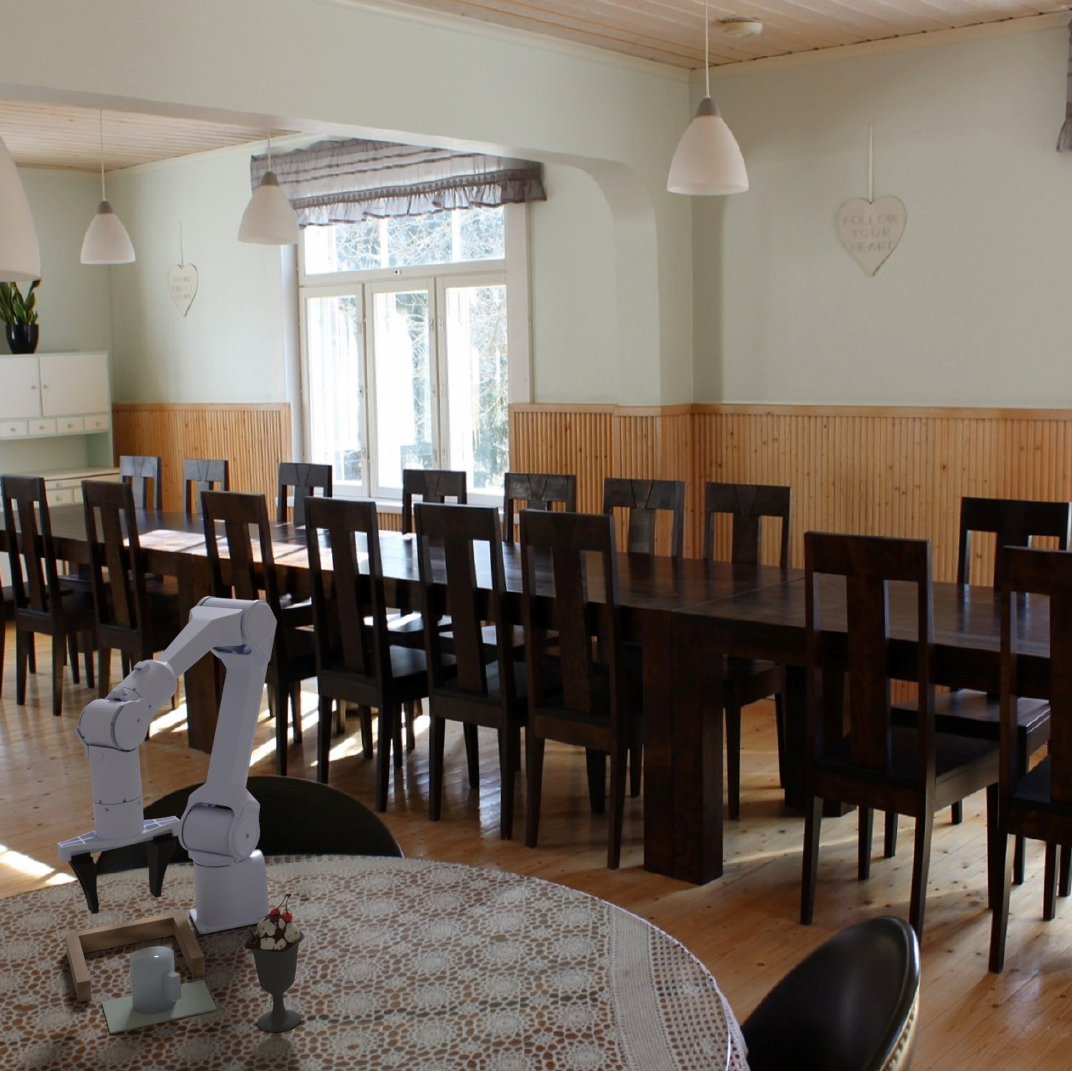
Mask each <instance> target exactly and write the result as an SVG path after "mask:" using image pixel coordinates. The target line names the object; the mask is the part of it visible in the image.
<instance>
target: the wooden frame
mask: <svg viewBox="0 0 1072 1071" xmlns="http://www.w3.org/2000/svg"><path fill="white" fill-rule="evenodd" d="M172 935H173V936H174V938H175V937H176V938H175V940H176V942H177V944H178V946H179V948H180V951H181V953H182V956H183V958H184V959H185V963H186V965H187V967H188V970H189V972H190V973H191V976H192V978H194V979H195V978H198V977H199V978H200V977H202V976H203V977H205V976H206V964H205V962H206V961H205V955H204V953H203V951H202V948H201V946H200V944H199V942H198V940H197V938H196V935H195V934H194V931H193V929H192V928H191V925H190V924H189V921H188V918H187V917H186V915H185V912H184V911H183V910H181V911H175V912H174V911H173V912H170V913H165V914H160V915H156V916H149V917H144V918H138V919H133V920H128V921H124V922H123V921H122V922H117V923H113V924H108V925H103V926H98V927H93V928H88V929H83V930H76V931H71V932H67V933H64V936H65V937H64V938H65V952H66V956H67V960H68V964H69V965H68V966H69V968H70V972H71V977H72V981H73V986H74V989H75V993H76V998H77V1001H78V1003H83V1002H87V1001H92V1000H93V999H92V987H91V986H92V985H91V978H90V975H89V970H88V966H87V963H86V959H85V955H84V954H87V953H93V952H97V951H102V950H107V949H108V950H109V949H112V948H117V947H122V946H128V945H131V944H137V943H141V942H146V941H151V940H156V938H158V939H162V938H161V937H163V938H167V937H172Z"/></svg>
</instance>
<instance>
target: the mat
mask: <svg viewBox="0 0 1072 1071" xmlns="http://www.w3.org/2000/svg"><path fill="white" fill-rule="evenodd" d="M181 996H182V998H181V999H179V1000H178V1001H176V1004H175V1005H174V1006H173V1007H172V1008H170V1009H168V1010H166V1011H163V1012H160V1013H156V1014H141V1013H138V1012H136V1011H134V1009H133V1003H132V994H131V995H127V996H122V997H118V998H112V999H108V1000H103V1001H101V1005H102V1008H103V1013H104V1016H105V1020H106V1023H107V1026H108V1030H109V1034H110V1035H112V1034H117V1033H121V1032H126V1031H131V1030H134V1029H135V1030H136V1029H140V1028H143V1027H147V1026H148V1027H149V1026H151V1025H156V1024H162V1023H166V1022H169V1021H176V1020H179V1019H183V1018H188V1017H192V1016H197V1015H200V1014H206V1013H209V1012H213V1011H217V1009H218V1008H217V1006H216V1004H215V1001H214V999H213V997H212V995H211V992H210V991H209V989H208V986H207V984H206V982H205V980H204V979H201V980H195V981H191V982H187V983H186V982H185V983H182V984H181Z"/></svg>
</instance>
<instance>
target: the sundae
mask: <svg viewBox="0 0 1072 1071" xmlns="http://www.w3.org/2000/svg"><path fill="white" fill-rule="evenodd" d="M290 897H292V893H285V896H284V898H283V900H282V901H281V903H280V904H279V905H278V906H277V907H274V908H272V909H271V910H270V911H269V912H270V913H269V914H268V915H266V916H264V917H263V918H262V919H261V921H260V922H259V923H257V927H256V931H253V929H252V927H250V926H247V931H248V933H249V934H248V936H246V939H245V943H244V949H245V950H249V951H251V952H252V955H253V959H254V965H255V969H256V976H257V979H258V984H259V986H260V988H261V989H263V991H264V992H266V993H267V994H270V995H271V996H272V1010H271V1011H268V1012H266V1013H265V1014H262V1015H261V1017H260V1018H259V1019H258V1021H257V1024H256V1025H257V1026H258V1028H259V1029H261V1030H263V1032H267V1033H281V1032H286V1031H289V1030H292V1029H293V1028H295V1027H297V1026H298V1025H299V1024H300V1022H301V1019H302V1016H301V1015H300V1013H299V1012H297V1011H295V1010H293V1009H291V1010H290V1009H286V1007H285V1003H284V994H285V992H287V991H288V990H289V989H291V987H292V985H293V984H294V982H295V981H296V980H295V979H296V975H297V965H298V954H299V947H300V946H299V945H300V944H301V942H303V941H304V939H305V934H304V932H302V931H301V930H300V929H299V927H298V926H297V923H295V922H294V921H292V919H293V914H292V913H291V912H289V910H288V900H289V898H290ZM286 898H287V899H286ZM285 900H286V901H285ZM284 902H285V912H283V913H282V914H281V910H280V909H279V908H281V906H282V905H283V904H284Z"/></svg>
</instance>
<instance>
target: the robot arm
mask: <svg viewBox="0 0 1072 1071" xmlns="http://www.w3.org/2000/svg"><path fill="white" fill-rule="evenodd" d="M188 616H189V617H188V623H187V624H186V625H185V626H184V628H183V629H182V630H181V631H180V632H179V633H178V635H177V636H176V637H175V639H173V641H172V642H171V643H170V644H169V645H168V647H167V648H166V649H164V651H163V652H162V653H161V655H160V656H159V657H158V658H157V659H156V660H155V659H146V660H143V661H138V662H137V663H136V664H135V665H134V666H133V671H131V672H130V673H129V674H128V675H127V676H126V677H125V678H124V679H123V680H122V681H121V682H120V683H119V684H118V685H117V686H115V687H113V689H111V691H110V693H108V695H107V696H106V697H104V698H98V699H95V700H92V701H91V702H90V703H89V704H87V705H86V706H85V707H84V708H83V709H82V711H81V712H80V715H79V718H78V724H77V726H76V727H75V733H76V737H77V739H78V740H79V742H80V743H81V744H82V745H83V747H84V753H85V757H86V758H87V760H88V761H89V768H90V782H91V793H92V808H93V809H92V810H93V821H94V830H90V831H89V832H86V833H84V834H81V835H79V836H76V837H73V838H70V839H66V840H63V841H60V842H56V848H57V850H56V851H57V858H58V860H59V861H60V862H61V863H62V864H63V863H68V864H69V866H70V868H71V869H72V871H73V872H74V875H75V876H76V878H77V880H78V882H79V884H80V887H81V889H82V891H83V894H84V897H85V900H86V905H87V909H88V910H89V912H90V913H91V914H93V915H95V914H99V912H100V903H99V896H98V888H97V887H98V884H97V883H98V882H97V881H98V864H96V863H95V861H94V857H93V856H92V855H93V854H96V853H102V852H106V851H111V850H113V849H119V848H123V847H126V846H130V845H134V844H135V845H136V844H139V843H144V844H145V851H146V858H147V863H148V864H147V866H148V885H149V886H148V887H149V892H150V894H151V895H152V896H153V897H154V898H161V896H162V891H163V890H162V888H163V884H164V879H165V876H166V873H167V869H168V866H169V863H170V861H171V858H172V857H173V854H174V853H175V851H176V847H177V843H176V840H175V839H174V838H173V837H177V836H178V840H179V844H180V846H181V847H182V848H183V849H184V850H186V851H187V852H188V858H189V859H191V860H193V861H192V862H193V875H194V896H195V908H191V909H190V910H189V915H190V917H191V919H192V921H193V923H194V926H195V927H196V930H197V931H198V934H200V935H205V934H210V933H216V932H219V931H220V932H221V931H226V930H230V929H231V930H232V929H235V928H240V927H246V926H251V925H255V924H256V925H257V924H258V923H259V922H260V921H261V919H262V918H263V917H264V916H266V915H268V914H270V913H269V912H270V911H269V895H268V894H269V893H268V878H267V876H268V875H267V868H266V861H265V857H264V855H263V854H264V853H263V852H262V850H261V849H256V847H257V846H258V844H259V843H258V842H259V840H260V836H261V835H260V834H261V829H260V822H259V820H260V818H259V816H260V808H261V805H260V803H259V802H258V800H257V799H256V798H255V797H254V796H253V795H252V793H250V792H249V790H248V789H247V783H248V777H249V776H248V775H249V771H250V767H251V766H250V765H251V760H252V755H253V748H254V743H255V742H254V741H255V736H256V732H257V726H258V720H259V715H260V710H261V703H262V700H263V699H262V698H263V693H264V686H265V681H266V676H267V671H268V670H267V669H268V664H269V662H270V661H271V658H272V650H273V645H274V640H275V635H276V629H277V623H278V620H277V619H276V616H275V614H274V612H273V610H272V609H271V607H270V605H269V603H268V602H266V601H265V600H261V599H255V600H252V599H251V600H250V599H235V598H224V597H223V598H222V597H216V596H211V595H209V596H205V597H202V598H201V599H200V600H199V601H198V603H197V604H196V605H195V606H194V607H192V608H191V609H190V610H189V615H188ZM208 652H211V653H213V655H214V656H216V657H217V658H218V659H220V660H221V661H222V663H223V665H224V666H225V668H226V674H225V679H224V684H223V690H222V694H221V696H222V697H221V701H220V705H219V712H218V717H217V722H216V727H215V734H214V738H213V744H212V748H211V755H210V760H209V765H208V771H207V775H206V776H207V777H206V782H205V783H204V784H203V785H200V786H199V787H198V788H197V789H196V790H194V791H193V792H192V793H191V794H190V795H189V796H188V800H187V805H186V807H185V810H184V812H183V814H182V815H181V818H180V819H179V818H178V817H176V815H172V816H167V817H161V818H154V819H153V818H152V819H144V807H143V793H142V777H141V764H140V763H141V762H140V751H139V750H140V748H139V746H140V745H142V744H143V743H144V741H145V740H146V737H147V733H148V731H149V726H150V725H151V723H153V720H154V716H155V715H156V714H157V713H158V712H159V711H160V710H161V709H162V707H164V706H165V705H166V703H168V701H169V700H170V699H171V698H172V697H173V696H174V695H175V694H176V692H177V690H178V685H179V684H178V678H180V677H181V676H182V675H183V674H184V673H185V672H186V671H188V670H189V669H190V668H191V667H192V666H193V665H194V664H196V663H197V662H198V661H199V660H200V659H201V658H203V657H204V656H205V655H206V654H207V653H208ZM215 806H223V807H224V806H225V807H229V808H230V809H226V808H225V809H224V808H219V807H215Z"/></svg>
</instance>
